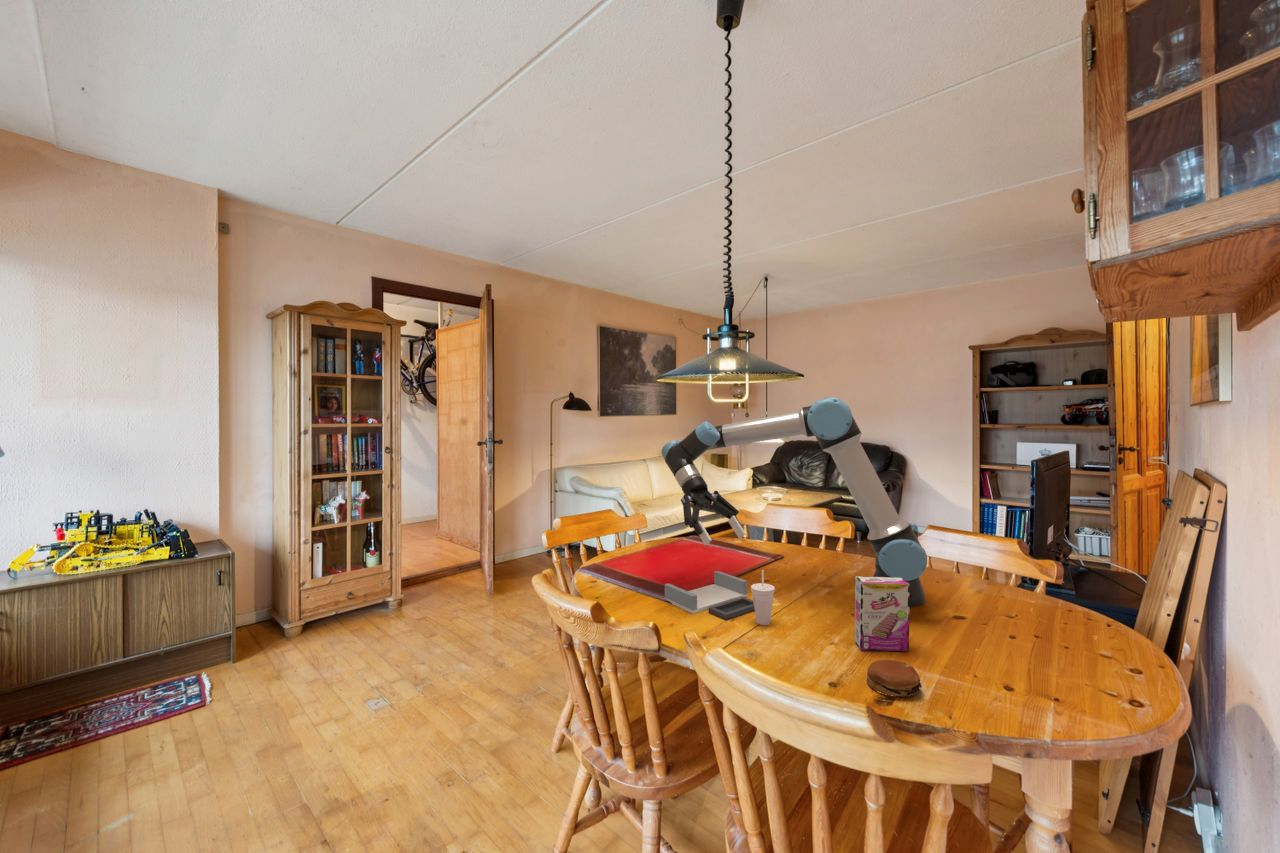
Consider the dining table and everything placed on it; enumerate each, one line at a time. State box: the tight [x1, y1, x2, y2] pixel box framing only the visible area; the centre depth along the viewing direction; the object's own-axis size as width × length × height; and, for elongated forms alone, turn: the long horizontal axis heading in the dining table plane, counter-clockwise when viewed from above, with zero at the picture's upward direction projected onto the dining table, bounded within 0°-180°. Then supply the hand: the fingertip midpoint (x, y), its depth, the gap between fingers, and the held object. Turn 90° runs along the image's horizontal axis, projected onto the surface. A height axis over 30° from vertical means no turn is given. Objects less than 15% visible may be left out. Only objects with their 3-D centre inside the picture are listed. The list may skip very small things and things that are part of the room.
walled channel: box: [664, 570, 748, 615], centre depth 155 cm, size 13×22×5 cm, turn 125°
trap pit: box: [708, 597, 755, 621], centre depth 145 cm, size 7×14×2 cm, turn 125°
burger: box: [866, 659, 923, 697], centre depth 103 cm, size 10×9×5 cm
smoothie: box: [750, 569, 776, 626], centre depth 136 cm, size 6×6×14 cm
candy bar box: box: [854, 575, 910, 653], centre depth 121 cm, size 11×5×16 cm, turn 84°
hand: (725, 539), depth 147 cm, fingers open, 13 cm apart
